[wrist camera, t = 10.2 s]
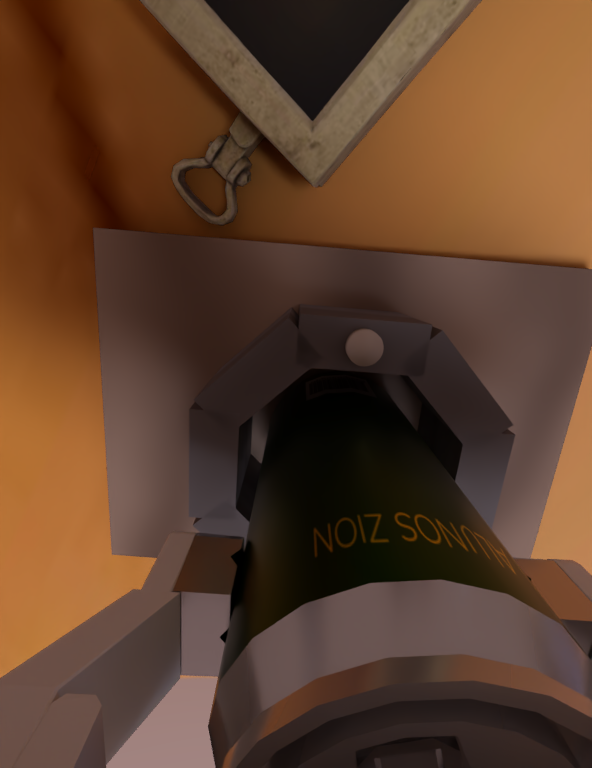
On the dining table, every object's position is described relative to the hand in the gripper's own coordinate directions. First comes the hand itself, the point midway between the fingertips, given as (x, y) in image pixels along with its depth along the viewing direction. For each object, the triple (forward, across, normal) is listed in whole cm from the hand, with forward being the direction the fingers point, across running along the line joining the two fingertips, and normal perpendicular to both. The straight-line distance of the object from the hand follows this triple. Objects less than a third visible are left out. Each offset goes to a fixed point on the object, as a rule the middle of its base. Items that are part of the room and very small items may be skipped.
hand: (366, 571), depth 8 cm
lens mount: (+9, 0, 0) cm, 9 cm away
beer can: (+8, 0, 0) cm, 8 cm away
